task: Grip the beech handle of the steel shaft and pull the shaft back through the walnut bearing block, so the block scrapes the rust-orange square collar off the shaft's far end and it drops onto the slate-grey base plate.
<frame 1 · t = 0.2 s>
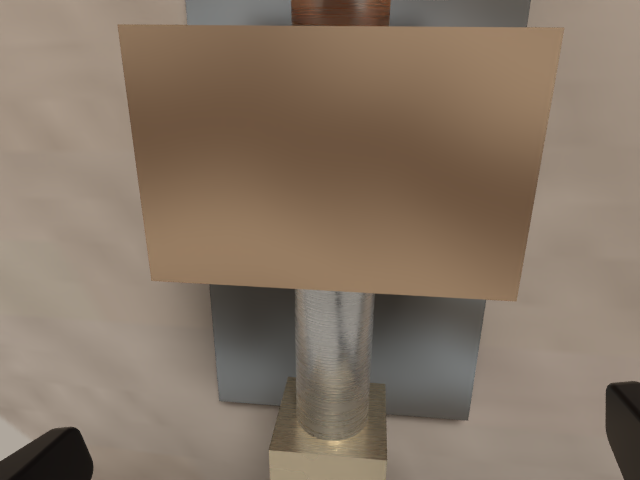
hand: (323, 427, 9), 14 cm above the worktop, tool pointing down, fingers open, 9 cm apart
bearing block: (350, 110, 20), on the worktop
shaft: (335, 250, 15), point 7 cm above the worktop, slide at 0.0 cm, touching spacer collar
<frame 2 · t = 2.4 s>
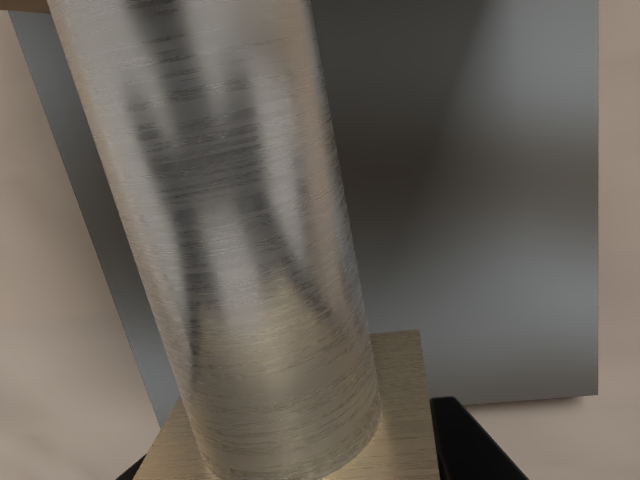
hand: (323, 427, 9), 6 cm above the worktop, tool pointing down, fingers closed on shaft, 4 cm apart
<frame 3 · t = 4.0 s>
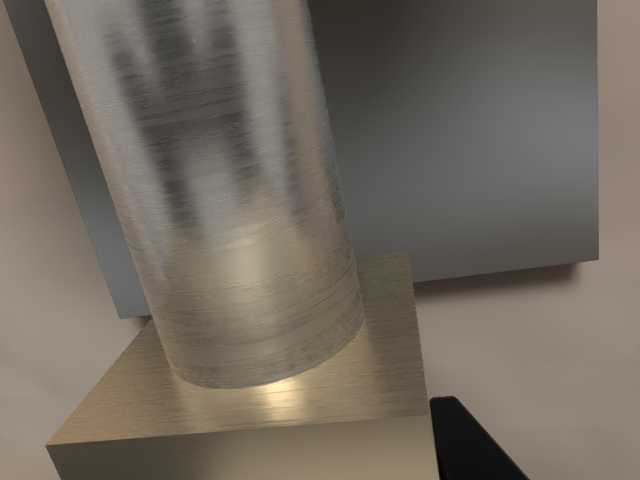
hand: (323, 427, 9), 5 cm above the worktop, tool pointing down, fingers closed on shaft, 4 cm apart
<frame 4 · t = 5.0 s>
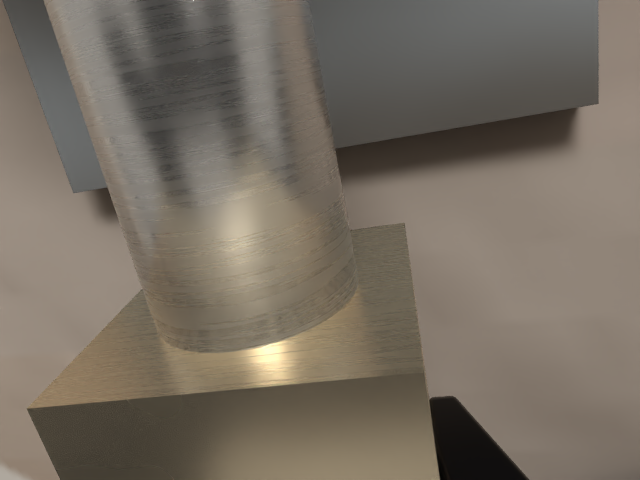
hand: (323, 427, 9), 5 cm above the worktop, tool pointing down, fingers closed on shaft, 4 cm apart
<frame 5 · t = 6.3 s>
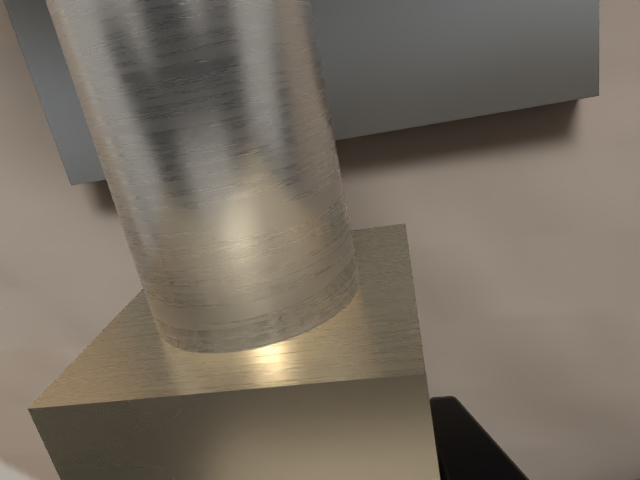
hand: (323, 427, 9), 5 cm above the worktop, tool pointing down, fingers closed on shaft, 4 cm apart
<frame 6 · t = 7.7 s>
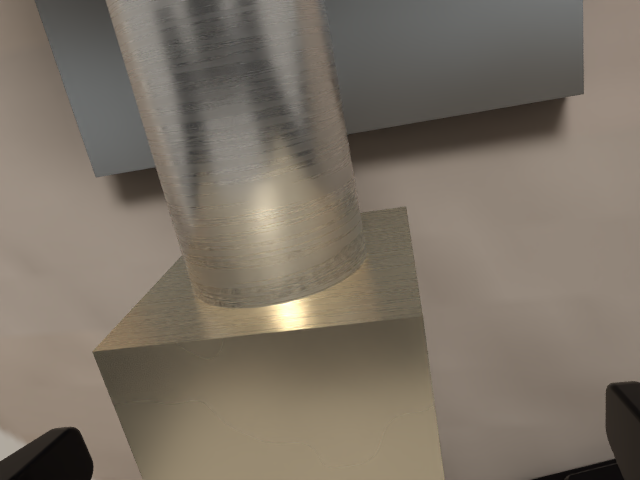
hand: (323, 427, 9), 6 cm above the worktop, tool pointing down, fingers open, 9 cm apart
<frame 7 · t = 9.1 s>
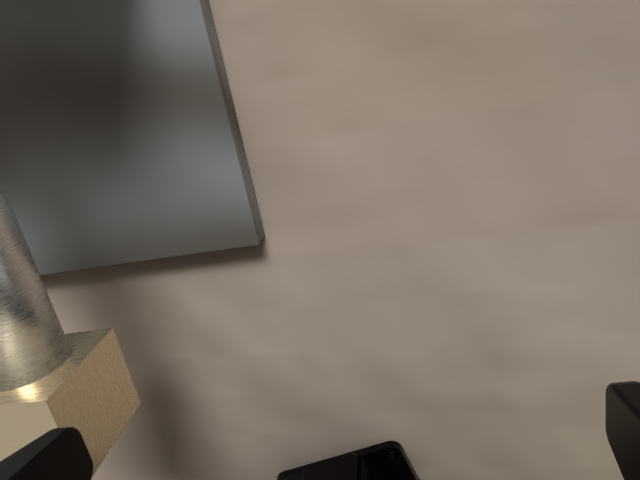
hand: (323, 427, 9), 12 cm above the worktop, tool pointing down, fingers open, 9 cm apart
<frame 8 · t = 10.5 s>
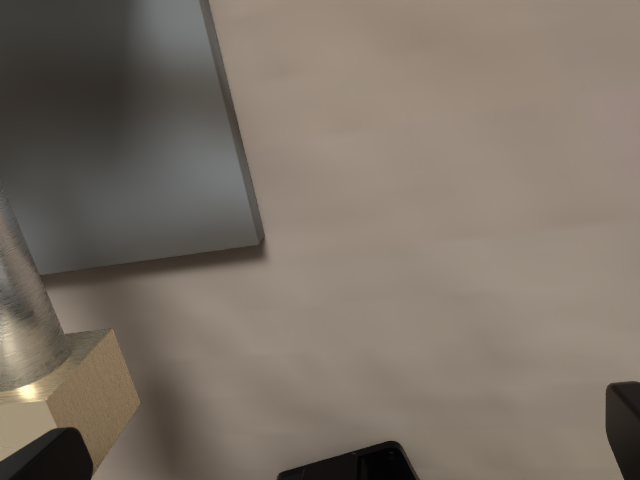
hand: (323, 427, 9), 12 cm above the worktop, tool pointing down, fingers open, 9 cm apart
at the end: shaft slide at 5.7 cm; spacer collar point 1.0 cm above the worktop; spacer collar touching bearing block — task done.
